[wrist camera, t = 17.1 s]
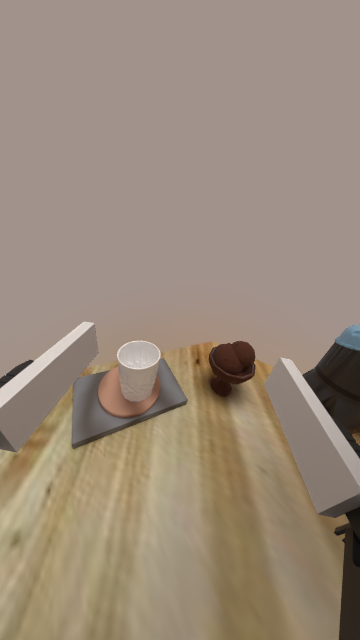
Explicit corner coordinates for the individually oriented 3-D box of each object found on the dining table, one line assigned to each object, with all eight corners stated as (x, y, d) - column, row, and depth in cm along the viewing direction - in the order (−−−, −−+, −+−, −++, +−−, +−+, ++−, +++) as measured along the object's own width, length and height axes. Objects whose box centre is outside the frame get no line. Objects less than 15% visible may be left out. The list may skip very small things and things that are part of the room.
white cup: (118, 376, 38) (117, 341, 33) (153, 372, 40) (156, 339, 35) (117, 408, 31) (116, 371, 27) (158, 402, 34) (163, 366, 29)
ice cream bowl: (230, 370, 50) (248, 329, 42) (249, 405, 40) (276, 359, 33) (197, 370, 47) (210, 326, 40) (208, 407, 38) (228, 359, 31)
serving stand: (163, 362, 48) (164, 354, 47) (186, 403, 38) (188, 395, 36) (74, 383, 38) (72, 373, 36) (73, 448, 27) (70, 439, 26)
